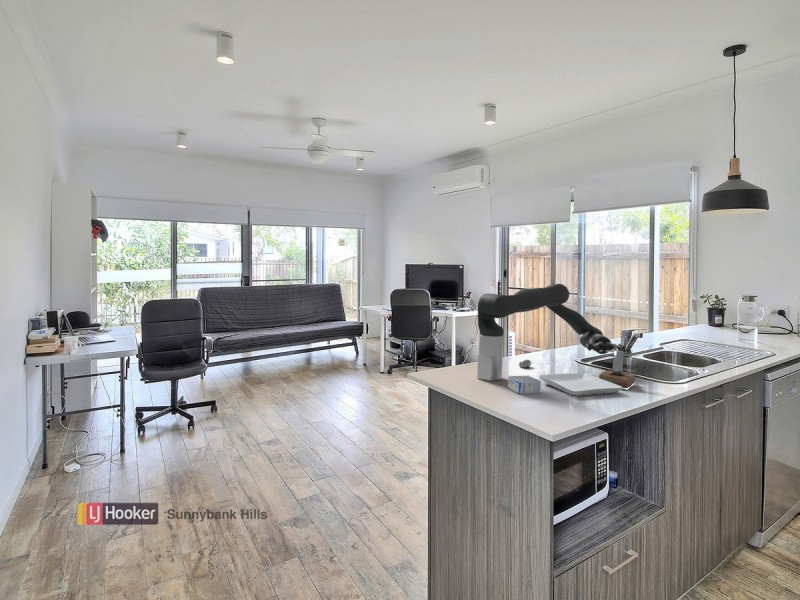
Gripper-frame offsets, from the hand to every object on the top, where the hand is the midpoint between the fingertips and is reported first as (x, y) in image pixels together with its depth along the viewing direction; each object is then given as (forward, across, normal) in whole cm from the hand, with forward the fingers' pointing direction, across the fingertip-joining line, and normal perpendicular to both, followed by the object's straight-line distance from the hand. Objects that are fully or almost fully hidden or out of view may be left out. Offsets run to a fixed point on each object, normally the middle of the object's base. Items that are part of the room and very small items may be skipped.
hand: (610, 350), depth 181 cm
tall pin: (+11, 0, +11) cm, 16 cm away
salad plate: (+20, -15, +12) cm, 27 cm away
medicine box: (+26, -31, +9) cm, 41 cm away
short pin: (-8, -33, +10) cm, 35 cm away
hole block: (+11, 0, +11) cm, 16 cm away
